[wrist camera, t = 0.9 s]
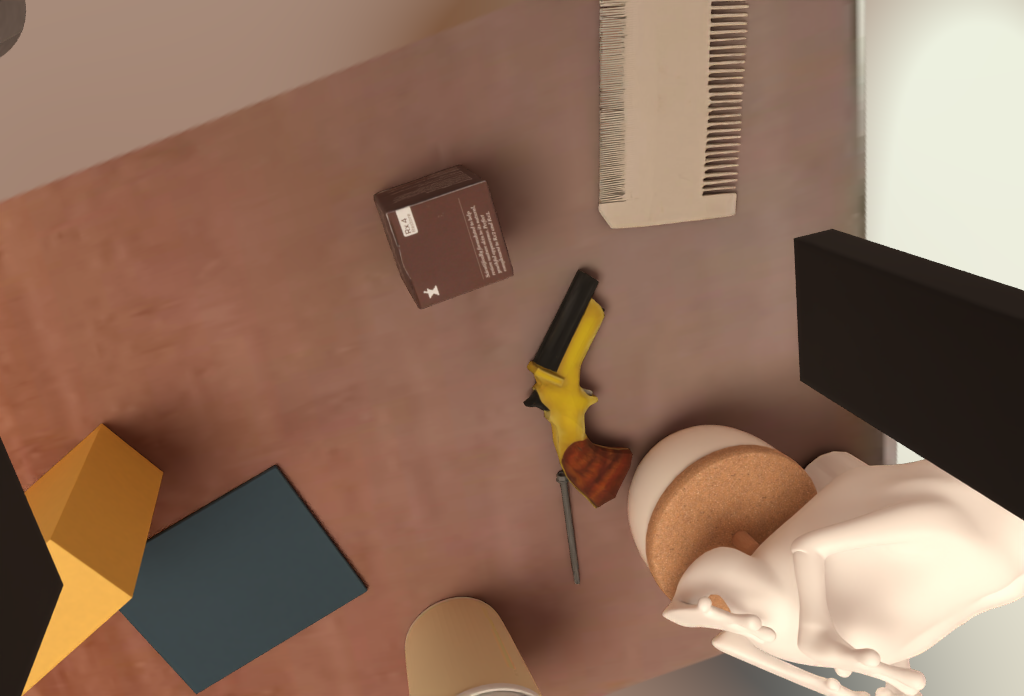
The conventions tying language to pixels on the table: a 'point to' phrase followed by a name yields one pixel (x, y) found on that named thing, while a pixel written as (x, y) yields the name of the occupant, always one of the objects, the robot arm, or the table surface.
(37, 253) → the table surface
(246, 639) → the slate mat
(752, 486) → the lidded bowl
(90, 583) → the cereal box
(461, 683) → the coffee cup
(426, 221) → the box
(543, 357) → the toy gun
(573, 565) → the screw
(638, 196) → the grooming comb
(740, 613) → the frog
